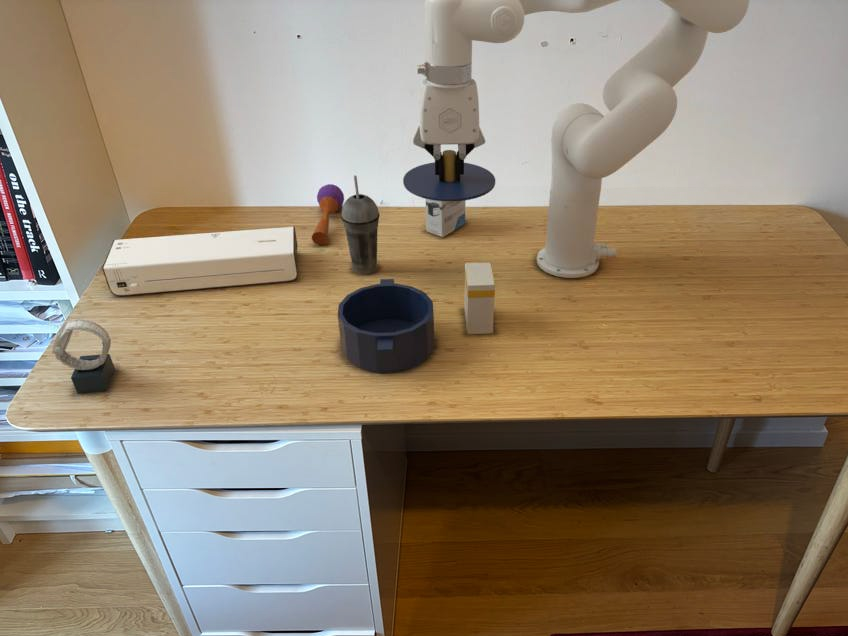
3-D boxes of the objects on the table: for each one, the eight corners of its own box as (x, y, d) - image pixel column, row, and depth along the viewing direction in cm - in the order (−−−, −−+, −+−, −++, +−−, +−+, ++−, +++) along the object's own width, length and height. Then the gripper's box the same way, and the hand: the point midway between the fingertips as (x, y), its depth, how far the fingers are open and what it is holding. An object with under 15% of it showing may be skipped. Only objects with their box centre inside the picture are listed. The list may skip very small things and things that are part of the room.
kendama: (301, 228, 147) (315, 181, 162) (310, 252, 151) (323, 204, 166) (329, 224, 146) (341, 177, 161) (338, 248, 150) (348, 200, 165)
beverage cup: (386, 261, 145) (380, 166, 133) (379, 279, 139) (371, 182, 127) (351, 258, 145) (342, 164, 133) (342, 276, 140) (331, 180, 128)
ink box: (448, 217, 161) (448, 167, 154) (466, 223, 159) (466, 173, 152) (424, 231, 155) (423, 180, 148) (442, 238, 153) (442, 186, 146)
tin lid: (490, 166, 137) (491, 134, 133) (500, 203, 124) (501, 170, 120) (403, 167, 136) (401, 136, 132) (403, 205, 122) (402, 171, 119)
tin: (431, 309, 131) (431, 274, 127) (436, 381, 115) (435, 343, 110) (346, 312, 130) (342, 276, 125) (338, 385, 113) (333, 347, 109)
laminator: (298, 253, 147) (294, 225, 143) (299, 283, 137) (294, 255, 133) (122, 267, 141) (113, 239, 137) (110, 300, 131) (100, 271, 128)
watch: (73, 372, 115) (49, 315, 108) (126, 368, 116) (106, 311, 109) (63, 394, 110) (38, 337, 103) (118, 390, 111) (97, 332, 105)
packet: (488, 309, 131) (490, 262, 125) (493, 333, 125) (495, 284, 119) (464, 310, 131) (464, 263, 125) (467, 334, 125) (467, 285, 119)
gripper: (400, 79, 114) (404, 187, 125) (499, 79, 115) (495, 186, 127) (399, 66, 120) (404, 170, 131) (494, 66, 121) (491, 169, 133)
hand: (449, 177), depth 129 cm, fingers closed on tin lid, 2 cm apart
